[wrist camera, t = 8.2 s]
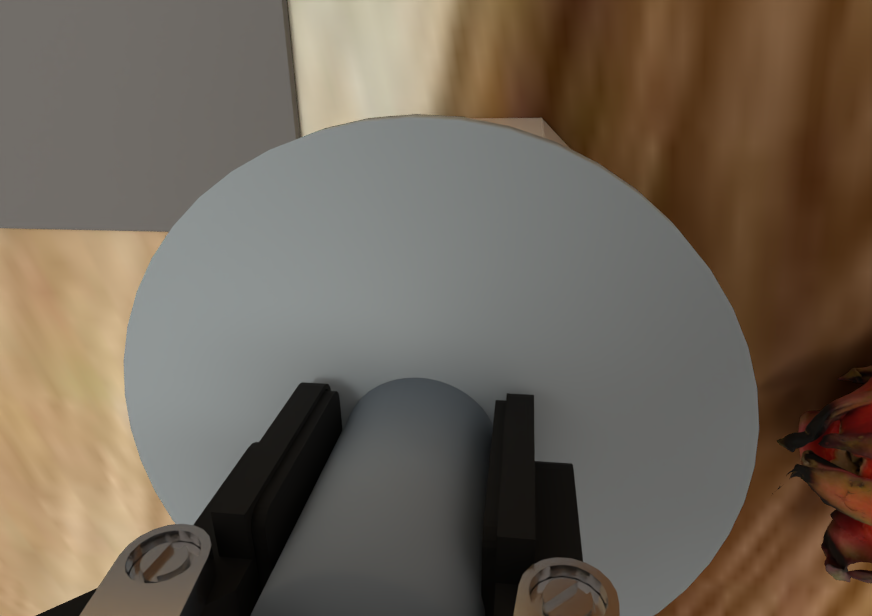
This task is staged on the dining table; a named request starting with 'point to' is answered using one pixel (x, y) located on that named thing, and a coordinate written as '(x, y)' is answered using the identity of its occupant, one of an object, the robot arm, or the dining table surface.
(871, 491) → the dragon fruit
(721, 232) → the dining table surface
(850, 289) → the dining table surface
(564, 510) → the robot arm
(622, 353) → the lid
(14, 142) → the mat
